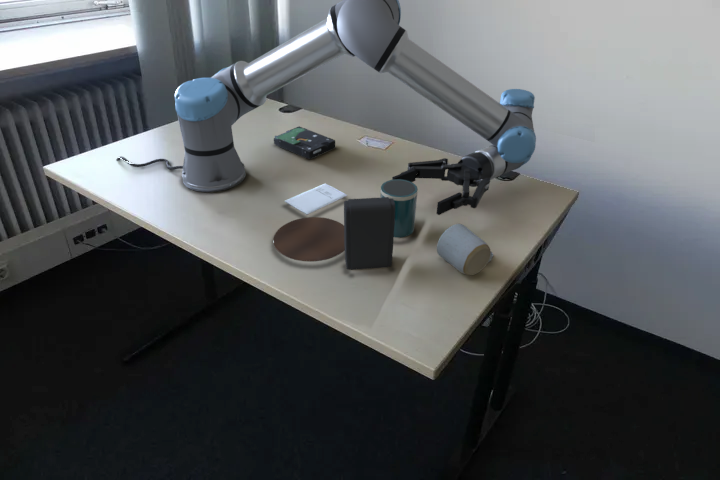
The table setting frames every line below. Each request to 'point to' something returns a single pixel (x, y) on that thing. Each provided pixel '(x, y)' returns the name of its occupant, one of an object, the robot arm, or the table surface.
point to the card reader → (369, 232)
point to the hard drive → (315, 198)
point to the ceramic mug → (464, 249)
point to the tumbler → (402, 204)
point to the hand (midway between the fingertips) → (414, 195)
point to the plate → (310, 239)
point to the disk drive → (304, 142)
